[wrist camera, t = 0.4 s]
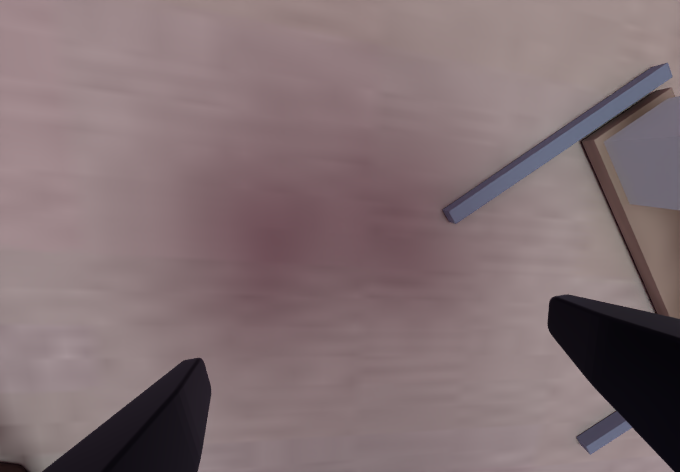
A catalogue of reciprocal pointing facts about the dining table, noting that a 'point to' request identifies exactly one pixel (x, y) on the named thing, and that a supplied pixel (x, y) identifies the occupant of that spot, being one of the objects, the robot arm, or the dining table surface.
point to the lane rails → (538, 157)
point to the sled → (642, 216)
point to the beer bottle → (11, 468)
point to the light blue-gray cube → (650, 157)
